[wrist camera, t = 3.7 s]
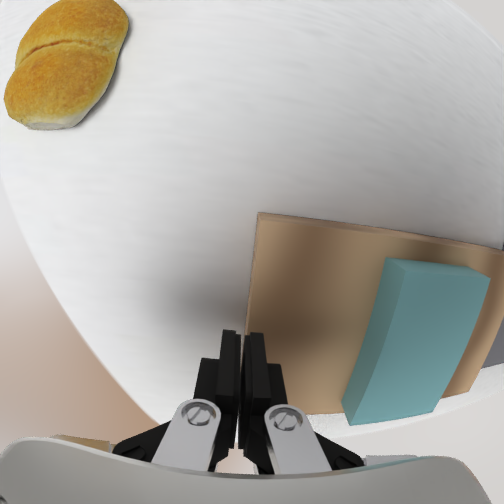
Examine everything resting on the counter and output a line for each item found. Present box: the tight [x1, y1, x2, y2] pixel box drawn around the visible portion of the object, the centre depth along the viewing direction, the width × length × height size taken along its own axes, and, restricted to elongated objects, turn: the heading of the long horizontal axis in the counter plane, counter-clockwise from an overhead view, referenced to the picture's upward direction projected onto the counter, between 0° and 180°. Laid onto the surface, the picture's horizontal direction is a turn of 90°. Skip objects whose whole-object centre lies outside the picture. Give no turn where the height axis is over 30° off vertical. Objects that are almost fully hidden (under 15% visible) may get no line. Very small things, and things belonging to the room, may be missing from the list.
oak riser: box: [240, 212, 504, 415], centre depth 15 cm, size 18×11×2 cm, turn 84°
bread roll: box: [4, 0, 129, 130], centre depth 10 cm, size 8×9×4 cm
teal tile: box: [341, 257, 491, 426], centre depth 13 cm, size 6×9×2 cm, turn 174°
